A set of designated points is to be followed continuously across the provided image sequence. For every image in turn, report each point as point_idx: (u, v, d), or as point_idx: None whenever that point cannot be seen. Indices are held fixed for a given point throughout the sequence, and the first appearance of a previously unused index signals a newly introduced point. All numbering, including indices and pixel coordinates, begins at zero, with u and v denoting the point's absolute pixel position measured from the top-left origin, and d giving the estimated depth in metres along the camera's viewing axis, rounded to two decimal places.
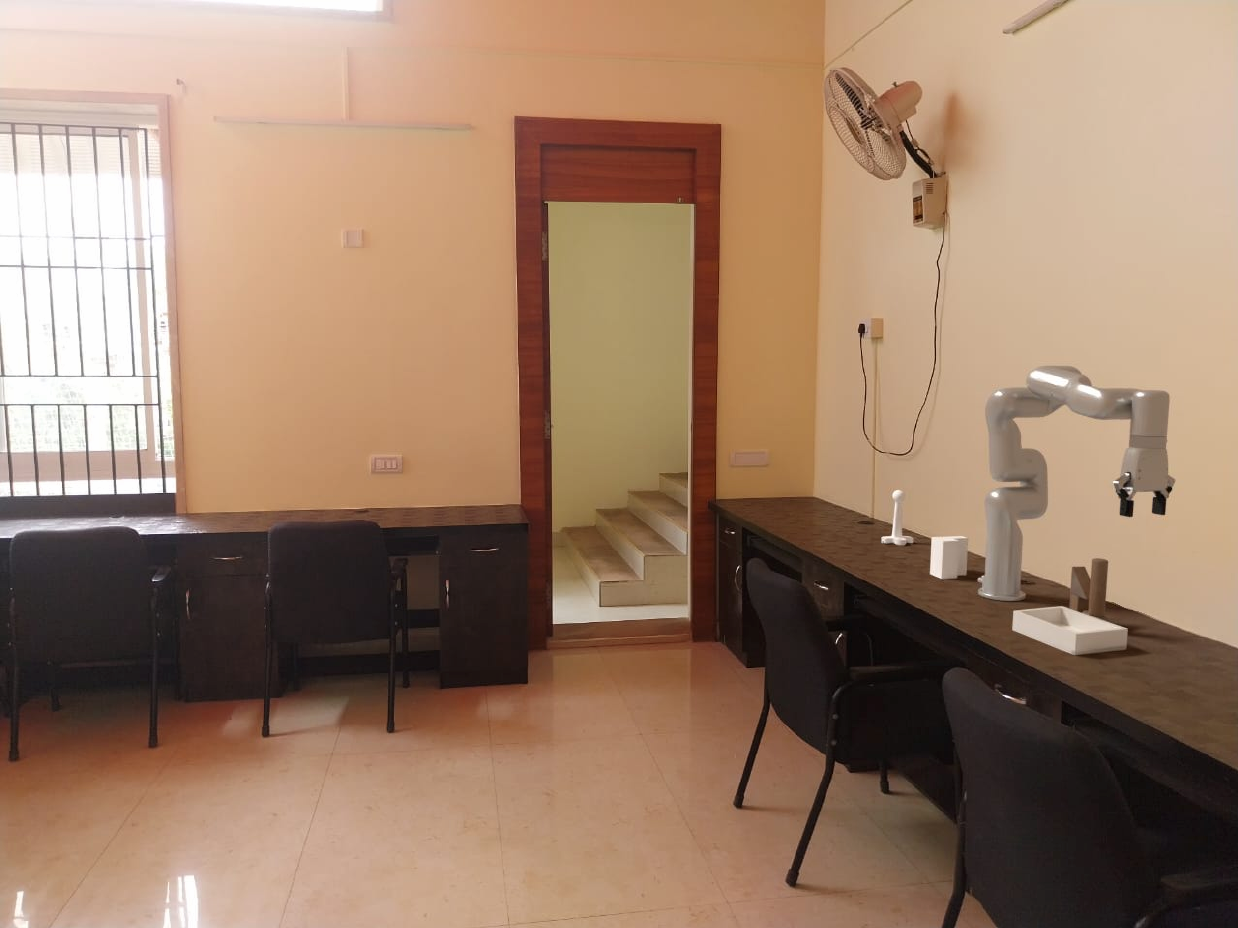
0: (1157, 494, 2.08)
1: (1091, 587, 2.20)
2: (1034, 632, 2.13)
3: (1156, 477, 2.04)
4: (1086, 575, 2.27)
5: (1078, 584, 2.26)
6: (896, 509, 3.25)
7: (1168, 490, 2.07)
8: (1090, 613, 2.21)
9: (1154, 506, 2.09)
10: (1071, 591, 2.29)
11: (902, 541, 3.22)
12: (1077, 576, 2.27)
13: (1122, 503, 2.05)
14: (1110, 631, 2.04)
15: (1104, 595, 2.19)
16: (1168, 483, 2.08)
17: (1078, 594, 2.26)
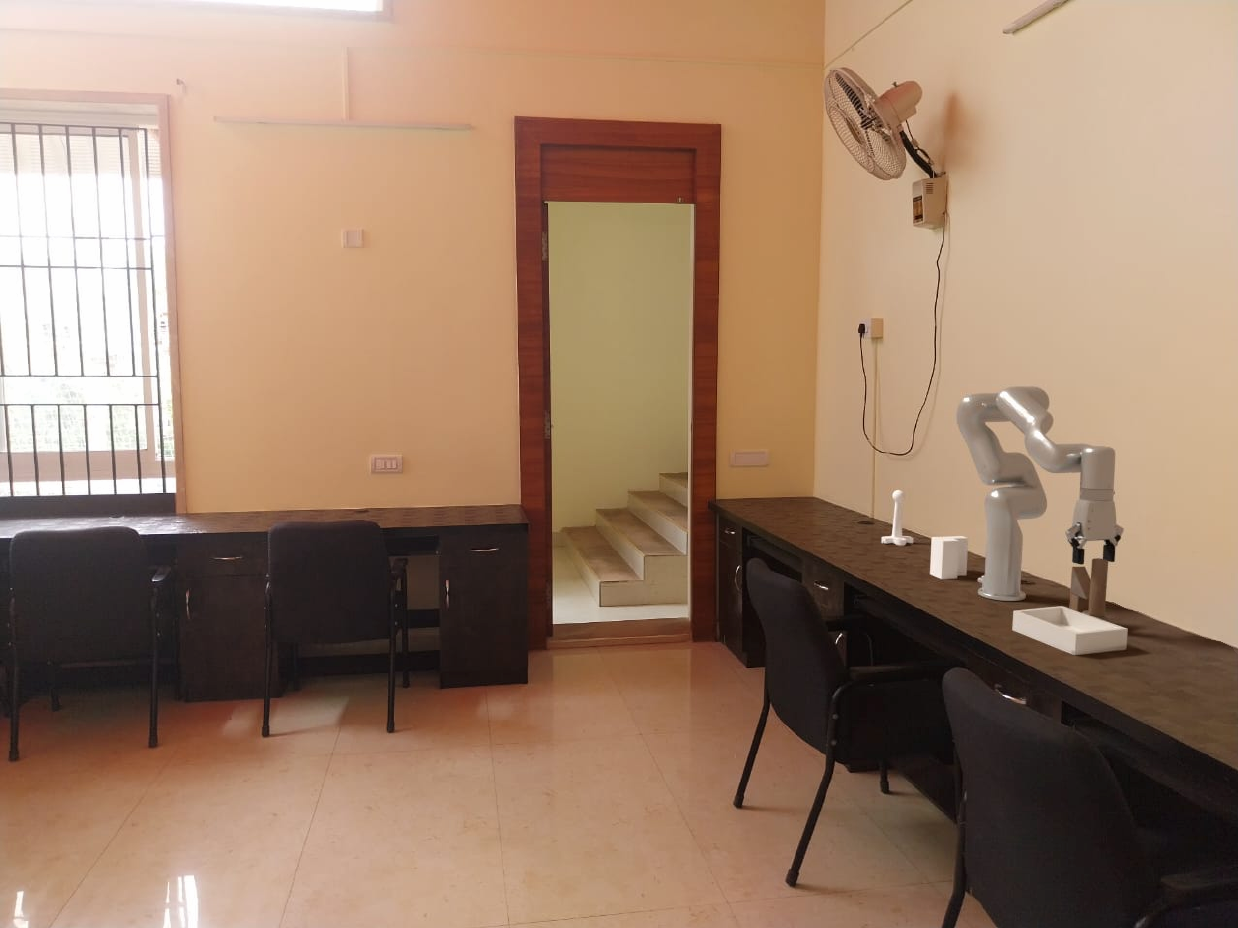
0: (1107, 542, 2.24)
1: (1091, 587, 2.20)
2: (1034, 632, 2.13)
3: (1105, 527, 2.20)
4: (1086, 575, 2.27)
5: (1078, 584, 2.26)
6: (896, 509, 3.25)
7: (1117, 538, 2.23)
8: (1090, 613, 2.21)
9: (1104, 553, 2.24)
10: (1071, 591, 2.29)
11: (902, 541, 3.22)
12: (1077, 576, 2.27)
13: (1074, 551, 2.21)
14: (1110, 631, 2.04)
15: (1104, 595, 2.19)
16: (1117, 532, 2.24)
17: (1078, 594, 2.26)
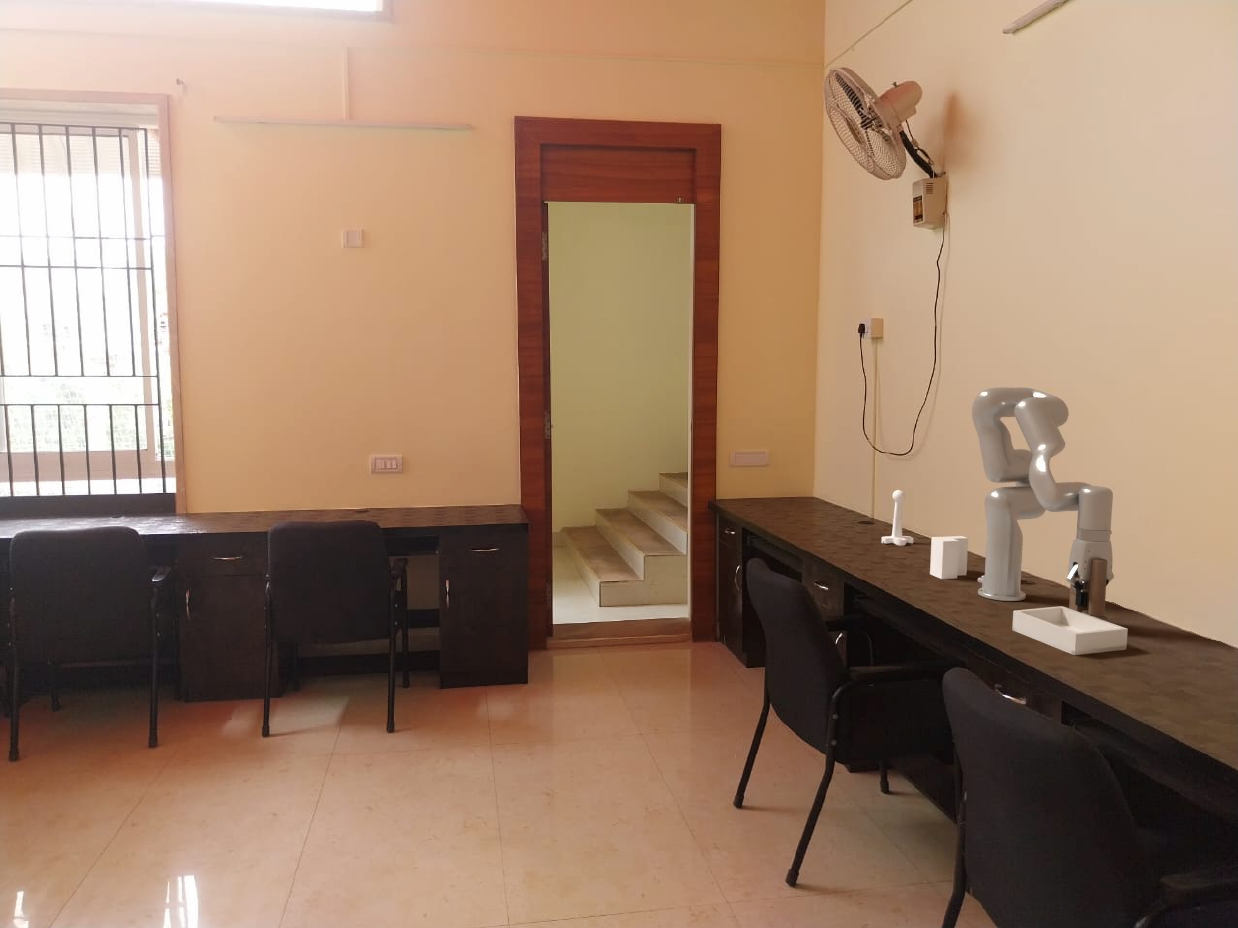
0: None
1: (1091, 587, 2.20)
2: (1034, 632, 2.13)
3: None
4: None
5: None
6: (896, 509, 3.25)
7: None
8: (1090, 613, 2.21)
9: None
10: (1071, 591, 2.29)
11: (902, 541, 3.22)
12: None
13: (1077, 594, 2.23)
14: (1110, 631, 2.04)
15: (1104, 595, 2.19)
16: None
17: None
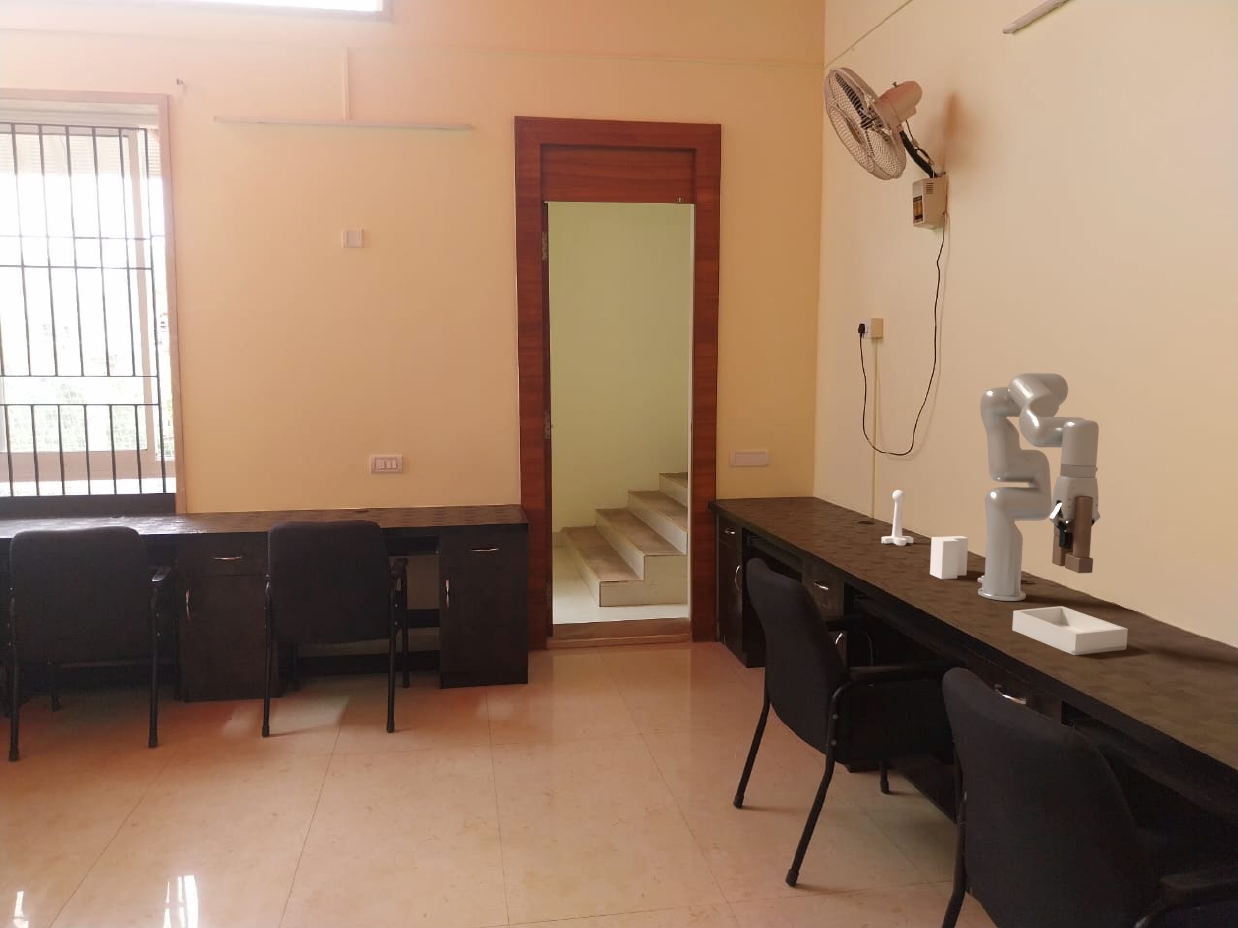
0: None
1: (1075, 526, 2.07)
2: (1034, 632, 2.13)
3: None
4: None
5: None
6: (896, 509, 3.25)
7: None
8: (1074, 554, 2.07)
9: None
10: (1054, 533, 2.15)
11: (902, 541, 3.22)
12: None
13: (1061, 535, 2.10)
14: (1110, 631, 2.04)
15: (1089, 534, 2.05)
16: None
17: None
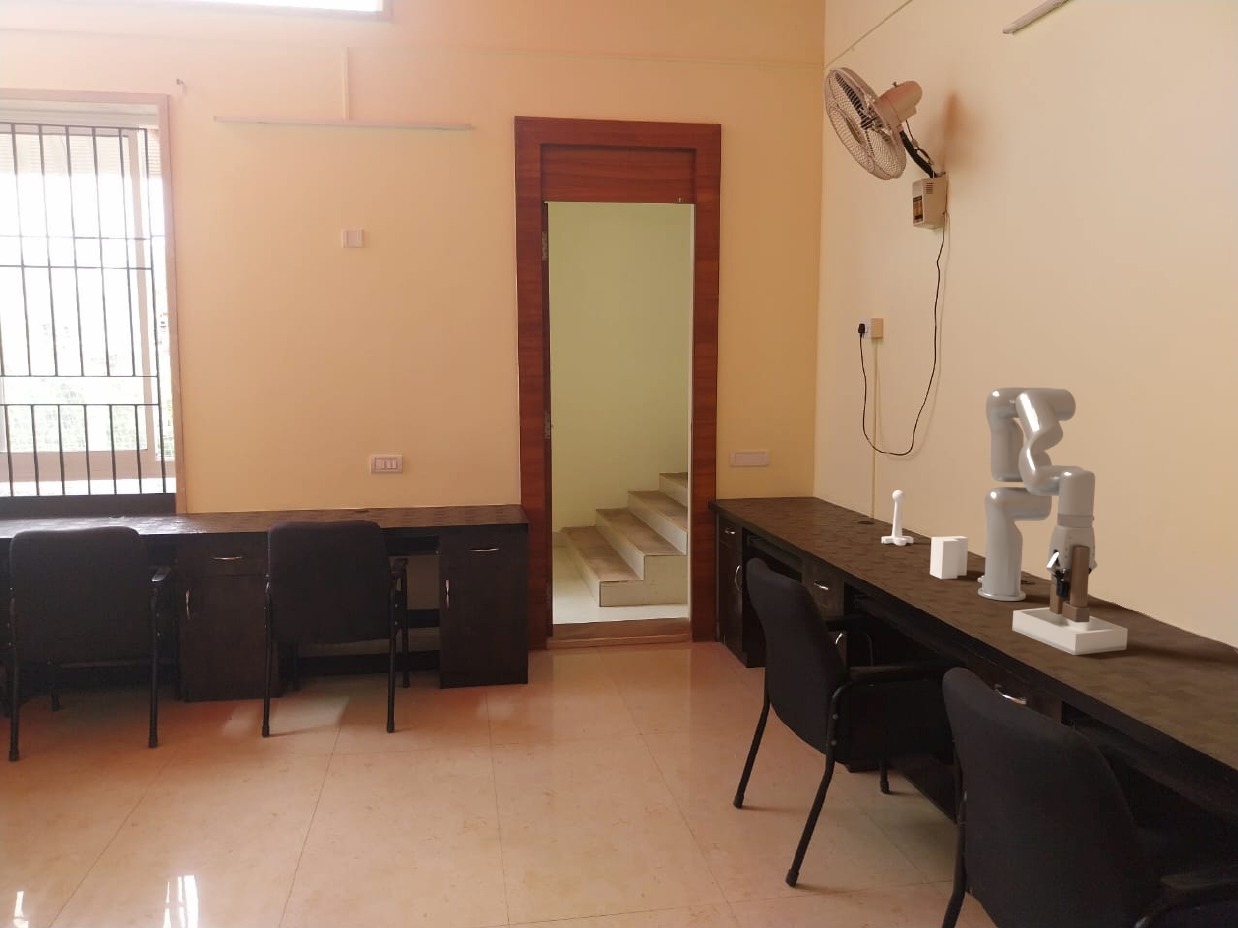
0: None
1: (1072, 575, 2.08)
2: (1034, 632, 2.13)
3: None
4: None
5: None
6: (896, 509, 3.25)
7: None
8: (1071, 603, 2.08)
9: None
10: (1052, 581, 2.16)
11: (902, 541, 3.22)
12: None
13: (1058, 583, 2.11)
14: (1110, 631, 2.04)
15: (1086, 584, 2.07)
16: None
17: None
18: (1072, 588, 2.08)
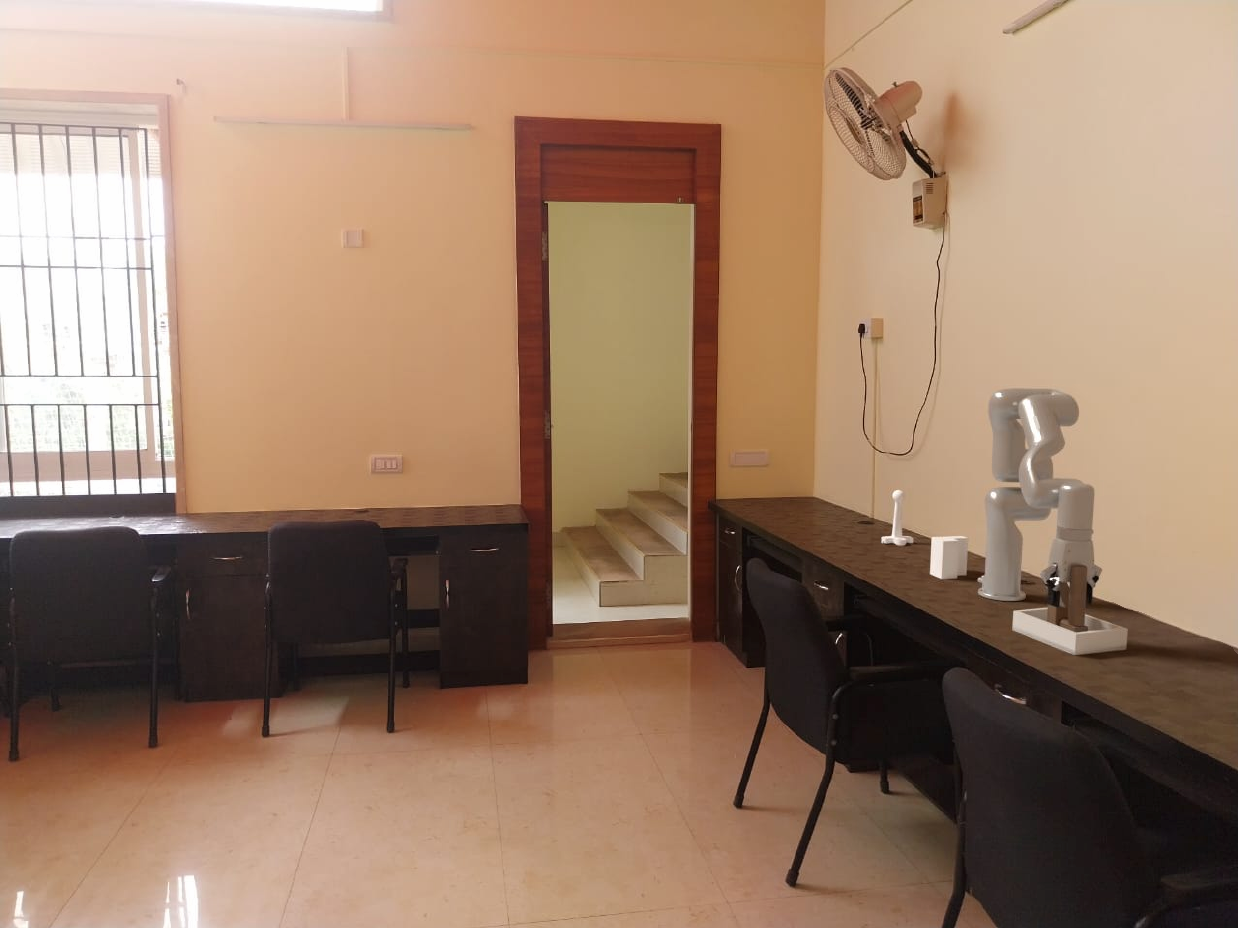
0: None
1: (1070, 595, 2.09)
2: (1034, 632, 2.13)
3: None
4: None
5: None
6: (896, 509, 3.25)
7: (1095, 579, 2.13)
8: (1069, 622, 2.09)
9: None
10: None
11: (902, 541, 3.22)
12: (1055, 583, 2.15)
13: (1049, 592, 2.11)
14: (1110, 631, 2.04)
15: (1084, 603, 2.07)
16: (1095, 572, 2.13)
17: None
18: (1070, 607, 2.09)
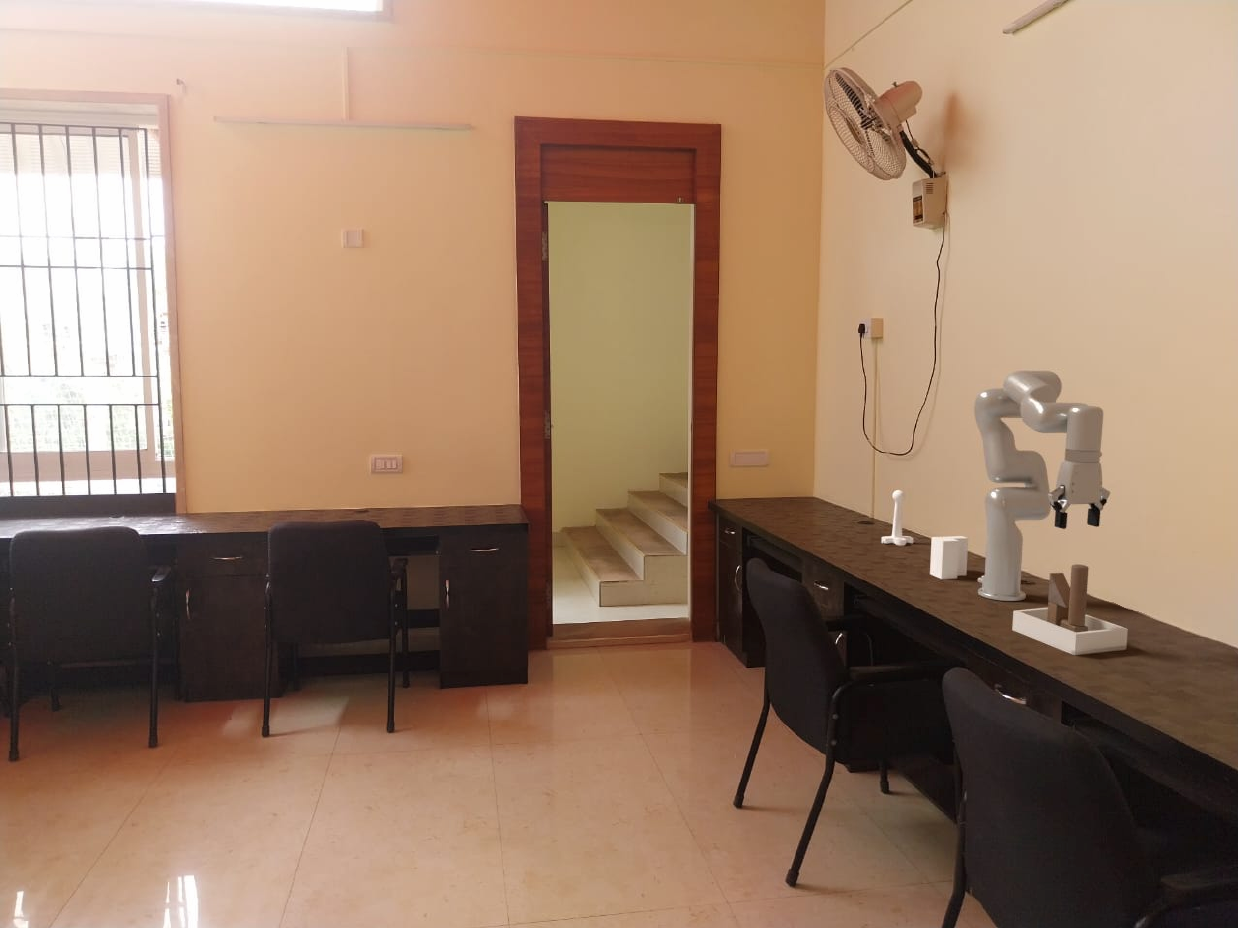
0: (1092, 506, 2.15)
1: (1071, 595, 2.09)
2: (1034, 632, 2.13)
3: (1089, 490, 2.11)
4: (1065, 582, 2.15)
5: (1056, 591, 2.14)
6: (896, 509, 3.25)
7: (1102, 502, 2.14)
8: (1070, 622, 2.09)
9: (1089, 517, 2.16)
10: (1049, 599, 2.17)
11: (902, 541, 3.22)
12: (1055, 583, 2.15)
13: (1056, 514, 2.12)
14: (1110, 631, 2.04)
15: (1084, 603, 2.07)
16: (1103, 495, 2.15)
17: (1057, 602, 2.14)
18: (1070, 607, 2.09)
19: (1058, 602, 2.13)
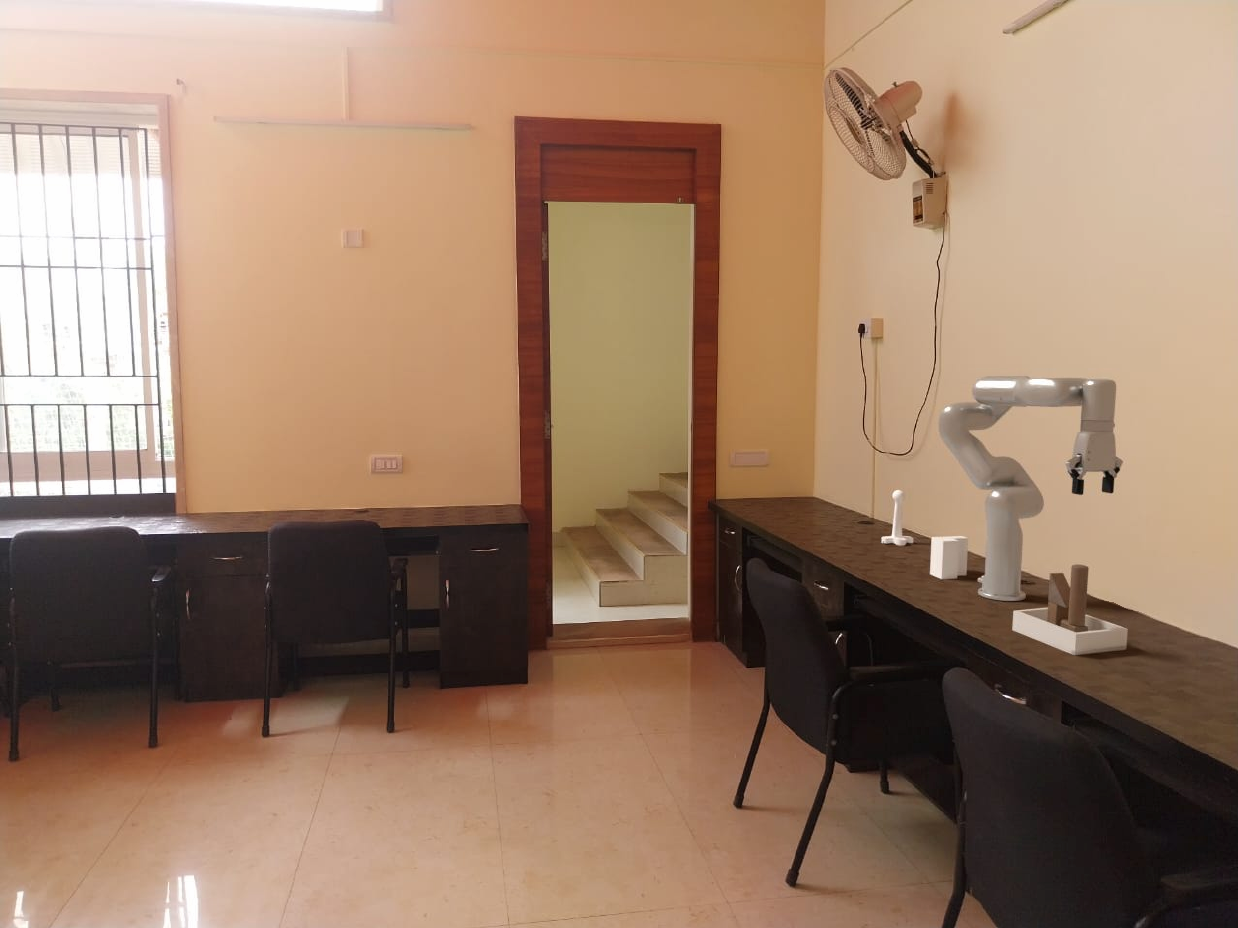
0: (1106, 474, 2.28)
1: (1071, 595, 2.09)
2: (1034, 632, 2.13)
3: (1104, 458, 2.24)
4: (1065, 582, 2.15)
5: (1056, 591, 2.14)
6: (896, 509, 3.25)
7: (1116, 470, 2.27)
8: (1070, 622, 2.09)
9: (1104, 485, 2.29)
10: (1049, 599, 2.17)
11: (902, 541, 3.22)
12: (1055, 583, 2.15)
13: (1074, 482, 2.25)
14: (1110, 631, 2.04)
15: (1084, 603, 2.07)
16: (1116, 464, 2.28)
17: (1057, 602, 2.14)
18: (1070, 607, 2.09)
19: (1058, 602, 2.13)
